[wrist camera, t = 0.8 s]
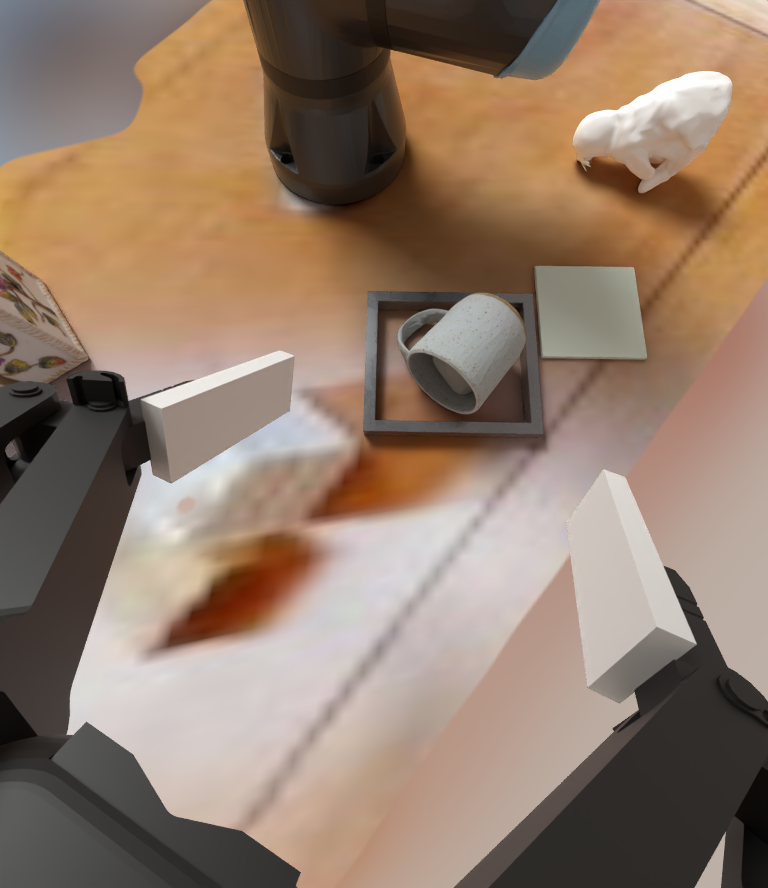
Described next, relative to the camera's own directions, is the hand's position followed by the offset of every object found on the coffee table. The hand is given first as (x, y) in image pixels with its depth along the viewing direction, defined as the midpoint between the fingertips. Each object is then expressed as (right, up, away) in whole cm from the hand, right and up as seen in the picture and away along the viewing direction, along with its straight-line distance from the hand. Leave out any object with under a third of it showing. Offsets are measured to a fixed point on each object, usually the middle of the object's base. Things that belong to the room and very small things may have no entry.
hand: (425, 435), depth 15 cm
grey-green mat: (+19, +13, +21) cm, 31 cm away
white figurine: (+24, +30, +25) cm, 46 cm away
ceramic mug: (+4, +7, +20) cm, 22 cm away
